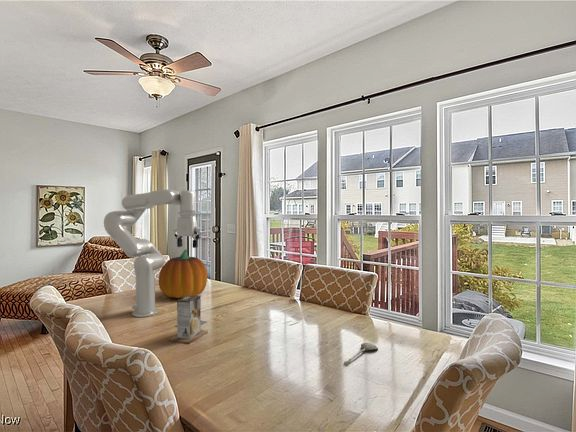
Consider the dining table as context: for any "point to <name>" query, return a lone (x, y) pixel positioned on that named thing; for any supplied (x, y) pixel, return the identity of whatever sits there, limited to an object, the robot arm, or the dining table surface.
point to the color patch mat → (201, 322)
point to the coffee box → (188, 317)
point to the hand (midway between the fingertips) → (187, 247)
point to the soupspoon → (365, 347)
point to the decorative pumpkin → (183, 276)
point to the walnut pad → (188, 341)
